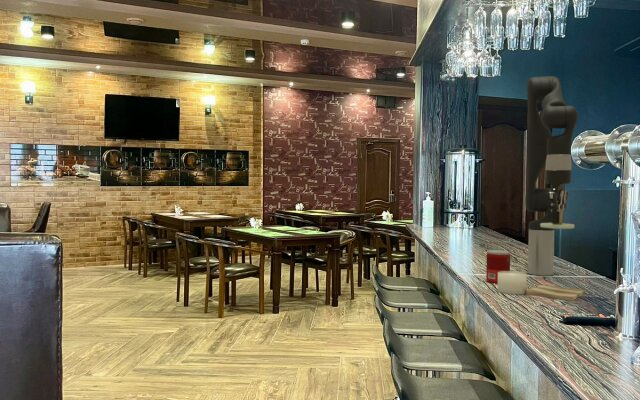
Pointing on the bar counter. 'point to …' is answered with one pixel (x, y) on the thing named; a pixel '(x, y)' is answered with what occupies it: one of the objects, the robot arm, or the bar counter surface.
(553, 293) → the mat
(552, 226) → the lid
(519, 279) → the crock
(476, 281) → the bar counter surface
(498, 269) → the canned food
